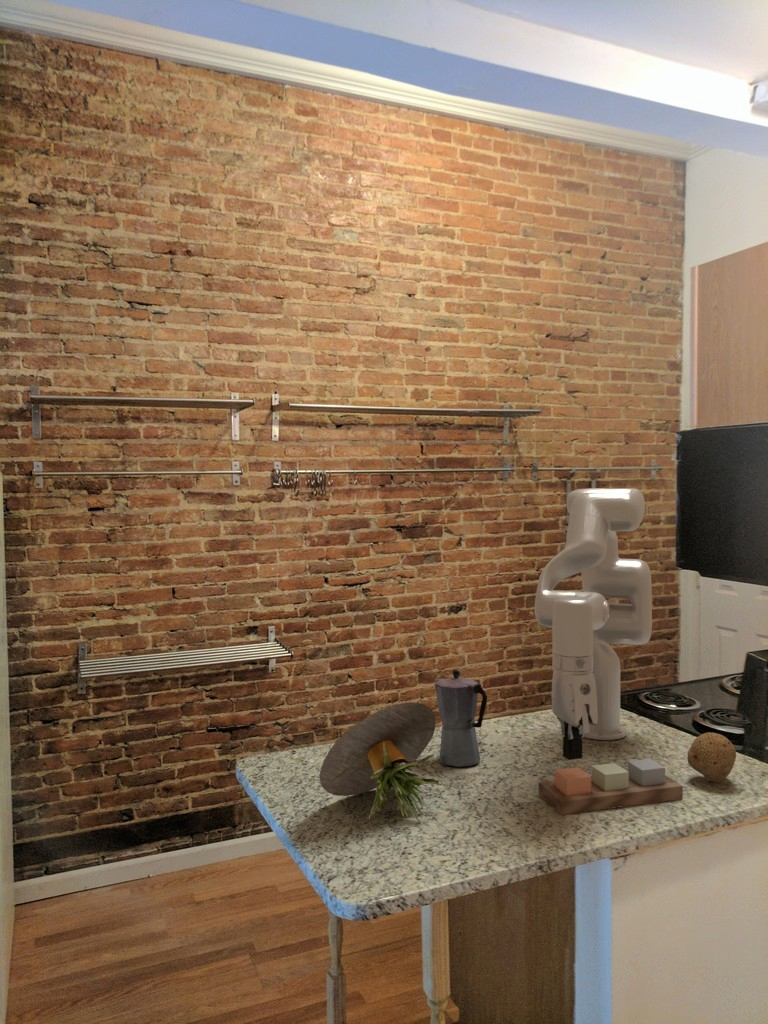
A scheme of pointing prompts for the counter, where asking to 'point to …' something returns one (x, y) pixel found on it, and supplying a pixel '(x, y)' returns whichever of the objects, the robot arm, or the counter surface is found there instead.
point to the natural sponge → (712, 756)
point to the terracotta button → (572, 781)
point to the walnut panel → (609, 796)
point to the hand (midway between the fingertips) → (572, 757)
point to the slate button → (646, 772)
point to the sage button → (610, 777)
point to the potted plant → (382, 756)
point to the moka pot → (459, 719)
